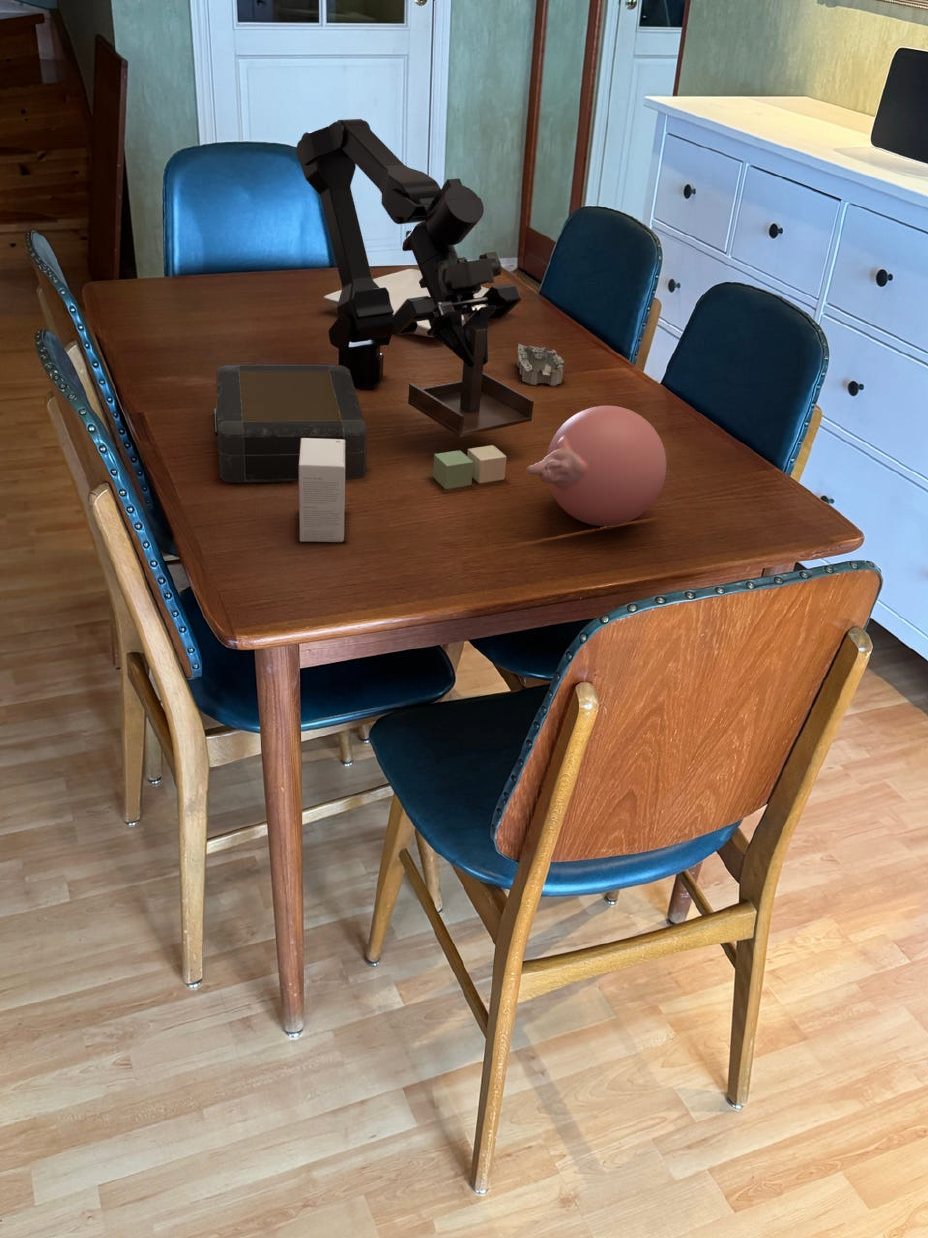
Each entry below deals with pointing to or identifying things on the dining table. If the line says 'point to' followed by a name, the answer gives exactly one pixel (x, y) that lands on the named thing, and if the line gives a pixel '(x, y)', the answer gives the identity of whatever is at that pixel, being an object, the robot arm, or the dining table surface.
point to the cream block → (487, 463)
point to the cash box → (284, 419)
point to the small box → (321, 490)
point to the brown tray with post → (472, 397)
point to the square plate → (402, 293)
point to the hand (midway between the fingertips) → (479, 364)
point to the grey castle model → (539, 365)
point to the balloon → (604, 466)
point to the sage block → (452, 469)
